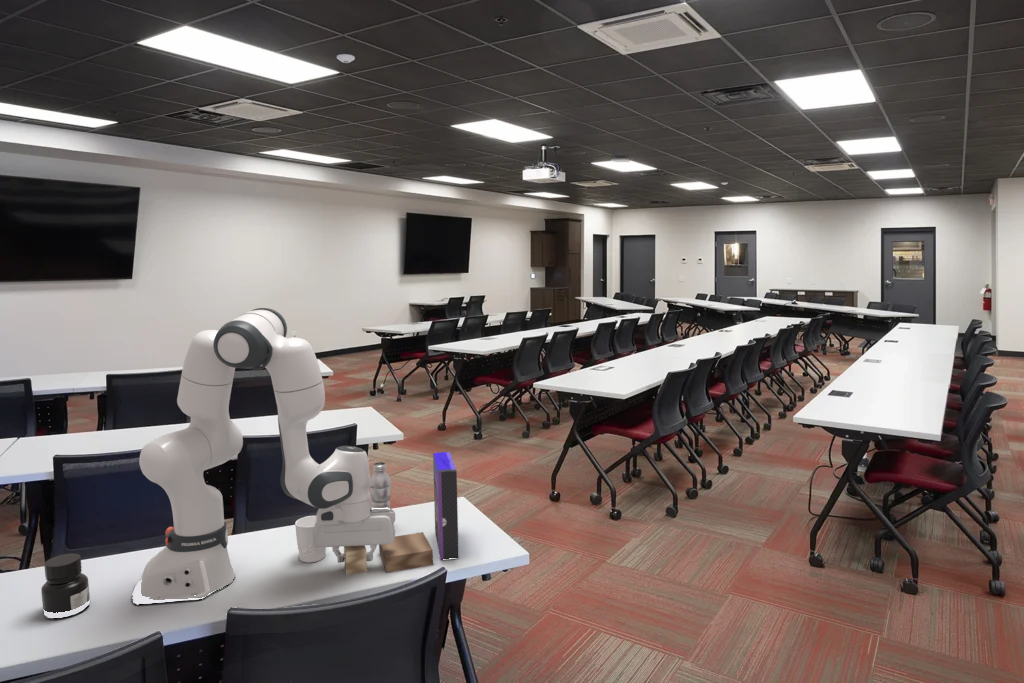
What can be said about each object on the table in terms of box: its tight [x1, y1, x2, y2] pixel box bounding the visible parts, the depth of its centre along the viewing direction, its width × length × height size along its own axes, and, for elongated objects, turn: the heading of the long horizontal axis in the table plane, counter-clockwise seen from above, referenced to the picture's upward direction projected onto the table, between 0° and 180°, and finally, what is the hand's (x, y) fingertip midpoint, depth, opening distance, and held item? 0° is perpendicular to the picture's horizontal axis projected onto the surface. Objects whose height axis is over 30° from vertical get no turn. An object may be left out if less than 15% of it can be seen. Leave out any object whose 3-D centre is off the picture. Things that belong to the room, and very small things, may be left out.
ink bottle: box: [41, 553, 91, 613], centre depth 150 cm, size 10×9×12 cm
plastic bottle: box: [369, 461, 392, 511], centre depth 192 cm, size 6×7×20 cm
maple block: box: [343, 545, 368, 576], centre depth 169 cm, size 5×5×6 cm
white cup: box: [294, 515, 327, 563], centre depth 176 cm, size 8×8×10 cm
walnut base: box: [378, 531, 434, 573], centre depth 174 cm, size 12×12×4 cm
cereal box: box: [432, 451, 460, 561], centre depth 181 cm, size 17×5×24 cm, turn 11°
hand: (355, 560), depth 169 cm, fingers open, 6 cm apart
